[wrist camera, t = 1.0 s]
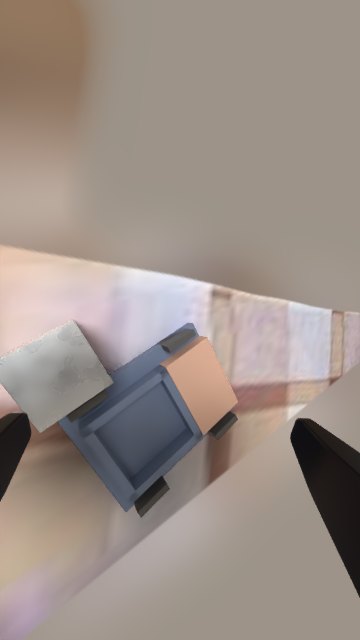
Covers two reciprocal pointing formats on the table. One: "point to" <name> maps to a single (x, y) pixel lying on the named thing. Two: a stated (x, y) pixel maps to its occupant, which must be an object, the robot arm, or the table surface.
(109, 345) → the table surface
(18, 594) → the table surface
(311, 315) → the table surface
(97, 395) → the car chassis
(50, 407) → the grey rectangular block
